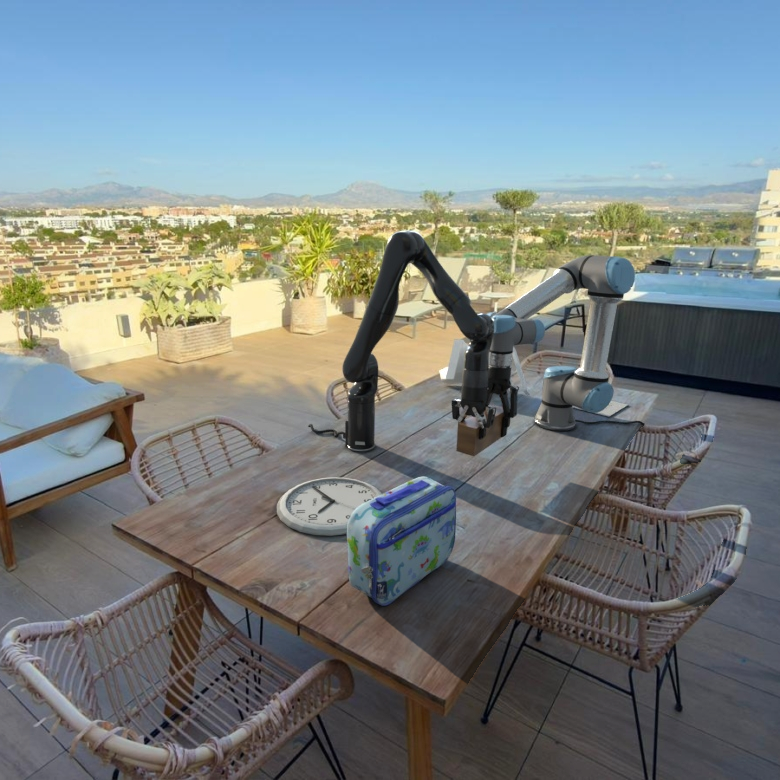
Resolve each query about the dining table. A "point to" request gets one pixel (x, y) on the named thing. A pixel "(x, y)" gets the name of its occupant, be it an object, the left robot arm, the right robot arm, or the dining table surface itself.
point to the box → (470, 433)
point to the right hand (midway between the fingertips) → (493, 433)
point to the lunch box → (400, 538)
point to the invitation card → (610, 408)
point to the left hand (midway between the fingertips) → (471, 436)
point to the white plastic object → (456, 366)
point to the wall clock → (324, 504)
